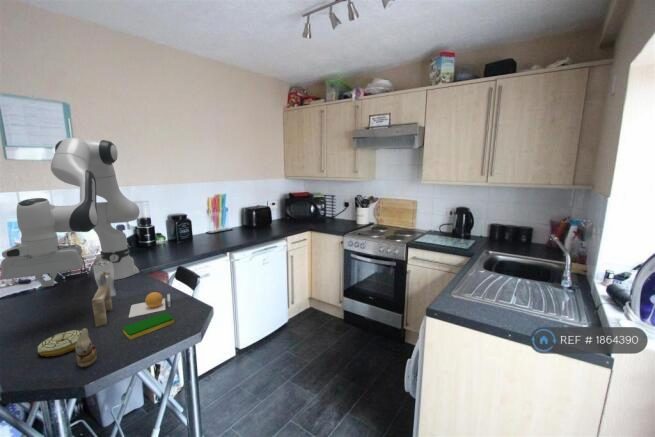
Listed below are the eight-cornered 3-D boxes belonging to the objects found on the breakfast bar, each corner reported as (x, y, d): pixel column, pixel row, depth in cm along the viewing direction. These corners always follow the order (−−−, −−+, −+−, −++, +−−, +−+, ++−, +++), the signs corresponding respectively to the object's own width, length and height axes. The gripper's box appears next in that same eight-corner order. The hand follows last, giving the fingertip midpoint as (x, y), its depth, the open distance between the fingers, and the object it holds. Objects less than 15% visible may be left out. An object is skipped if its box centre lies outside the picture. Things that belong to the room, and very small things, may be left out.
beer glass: (106, 299, 125) (101, 266, 123) (93, 298, 127) (88, 265, 124) (121, 293, 132) (116, 261, 130) (108, 292, 134) (103, 260, 131)
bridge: (95, 326, 103) (91, 300, 102) (103, 309, 116) (99, 286, 115) (106, 324, 105) (102, 298, 103) (112, 307, 118) (109, 284, 116)
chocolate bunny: (67, 370, 80) (61, 336, 79) (85, 353, 88) (79, 322, 86) (90, 367, 81) (84, 334, 80) (105, 351, 89) (101, 320, 87)
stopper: (167, 300, 124) (167, 294, 124) (170, 299, 125) (169, 293, 124) (168, 307, 117) (167, 301, 117) (171, 306, 118) (170, 300, 117)
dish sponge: (123, 333, 99) (122, 327, 99) (166, 318, 110) (165, 311, 109) (130, 341, 95) (129, 334, 94) (174, 324, 105) (174, 317, 105)
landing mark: (131, 305, 120) (131, 305, 120) (165, 298, 125) (165, 298, 125) (128, 317, 109) (128, 317, 109) (165, 310, 115) (165, 309, 115)
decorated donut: (50, 343, 94) (48, 332, 94) (90, 336, 98) (89, 325, 97) (31, 362, 85) (29, 350, 84) (77, 353, 88) (75, 342, 88)
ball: (166, 297, 122) (153, 308, 120) (156, 287, 120) (142, 297, 118) (165, 302, 117) (151, 312, 115) (154, 291, 115) (140, 301, 113)
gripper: (82, 241, 107) (88, 277, 109) (3, 249, 97) (11, 289, 99) (78, 244, 101) (84, 282, 104) (-6, 253, 92) (3, 295, 94)
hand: (48, 286), depth 101 cm, fingers closed
